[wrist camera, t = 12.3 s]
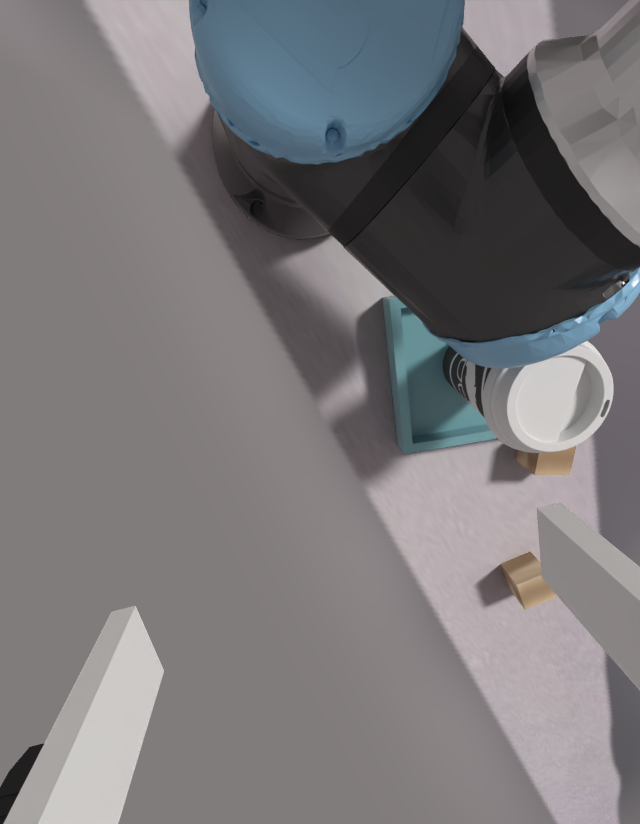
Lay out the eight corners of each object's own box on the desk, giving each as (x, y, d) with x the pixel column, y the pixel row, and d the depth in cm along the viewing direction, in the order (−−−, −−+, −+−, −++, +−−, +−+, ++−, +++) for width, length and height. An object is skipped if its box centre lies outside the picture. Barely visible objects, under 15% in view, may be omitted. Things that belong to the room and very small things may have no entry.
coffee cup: (479, 422, 47) (563, 484, 33) (410, 376, 45) (468, 421, 31) (535, 348, 45) (651, 379, 31) (466, 297, 43) (556, 305, 29)
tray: (382, 297, 43) (389, 299, 41) (536, 273, 44) (554, 272, 41) (396, 444, 48) (404, 454, 45) (535, 420, 49) (551, 429, 46)
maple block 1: (521, 427, 49) (541, 440, 45) (554, 427, 50) (577, 440, 46) (515, 460, 50) (534, 475, 46) (547, 460, 51) (569, 474, 47)
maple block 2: (500, 563, 55) (516, 585, 51) (529, 551, 54) (548, 571, 51) (508, 587, 56) (525, 609, 52) (537, 575, 56) (556, 597, 52)
